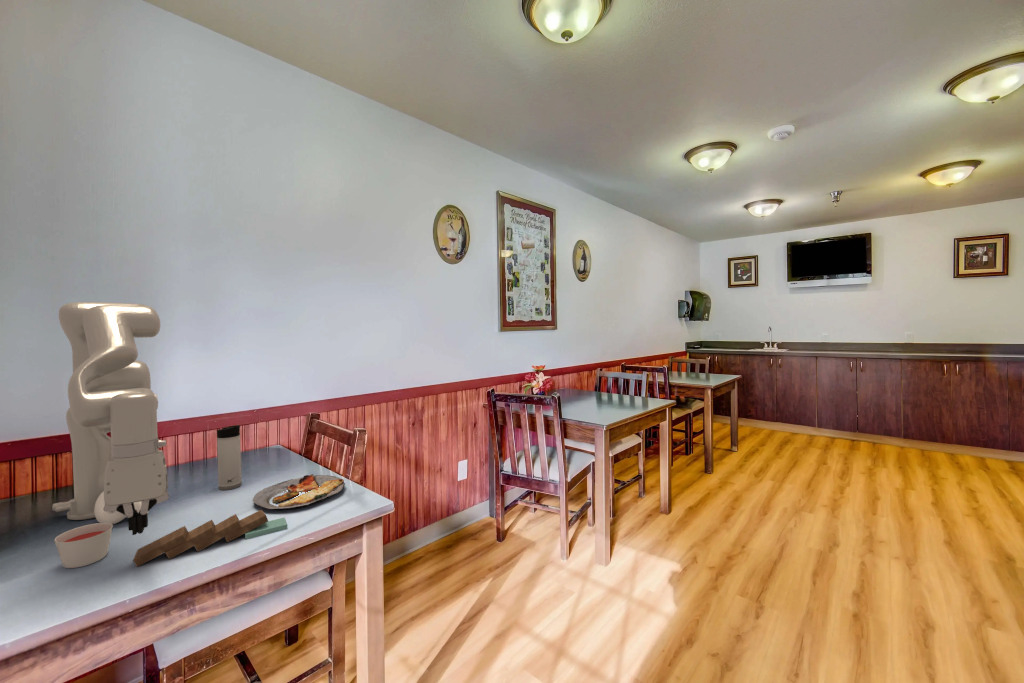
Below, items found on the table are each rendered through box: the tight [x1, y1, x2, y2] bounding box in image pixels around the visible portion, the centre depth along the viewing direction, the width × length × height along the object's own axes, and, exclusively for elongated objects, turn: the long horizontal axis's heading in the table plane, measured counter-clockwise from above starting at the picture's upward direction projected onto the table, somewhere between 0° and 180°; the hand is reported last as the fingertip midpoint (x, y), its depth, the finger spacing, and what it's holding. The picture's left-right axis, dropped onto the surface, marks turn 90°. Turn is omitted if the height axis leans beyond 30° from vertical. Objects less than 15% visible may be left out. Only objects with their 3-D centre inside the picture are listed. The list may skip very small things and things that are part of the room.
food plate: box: [252, 473, 346, 510], centre depth 127 cm, size 25×23×4 cm
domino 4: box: [223, 509, 269, 543], centre depth 103 cm, size 2×5×9 cm
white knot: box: [94, 491, 150, 525], centre depth 113 cm, size 11×12×9 cm
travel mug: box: [216, 424, 243, 491], centre depth 135 cm, size 6×7×20 cm
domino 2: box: [164, 519, 216, 560], centre depth 96 cm, size 2×5×9 cm
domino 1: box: [132, 525, 189, 567], centre depth 93 cm, size 2×5×9 cm
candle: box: [54, 522, 114, 569], centre depth 92 cm, size 9×9×6 cm
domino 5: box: [244, 516, 288, 540], centre depth 105 cm, size 2×5×9 cm
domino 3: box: [193, 513, 241, 553], centre depth 99 cm, size 2×5×9 cm
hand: (138, 531), depth 91 cm, fingers closed
